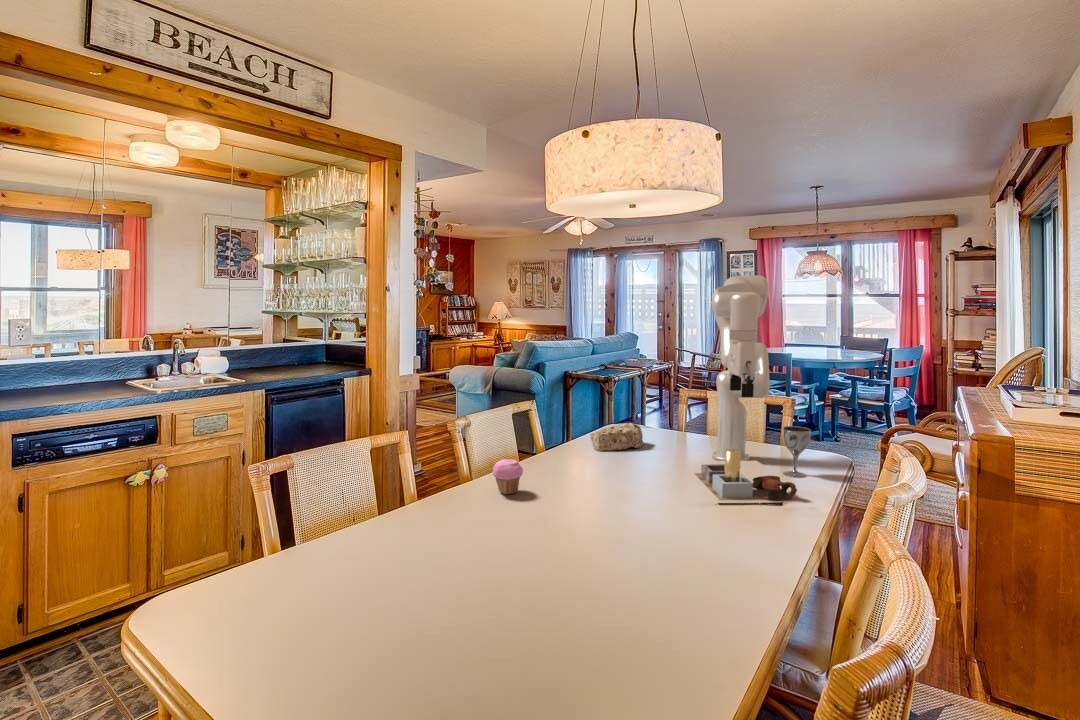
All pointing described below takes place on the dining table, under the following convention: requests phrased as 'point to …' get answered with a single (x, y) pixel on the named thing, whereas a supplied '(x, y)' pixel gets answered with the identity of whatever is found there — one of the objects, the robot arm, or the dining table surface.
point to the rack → (732, 487)
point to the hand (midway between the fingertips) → (741, 393)
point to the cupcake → (507, 475)
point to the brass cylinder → (732, 465)
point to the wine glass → (796, 445)
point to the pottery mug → (774, 489)
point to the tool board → (707, 479)
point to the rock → (617, 437)
